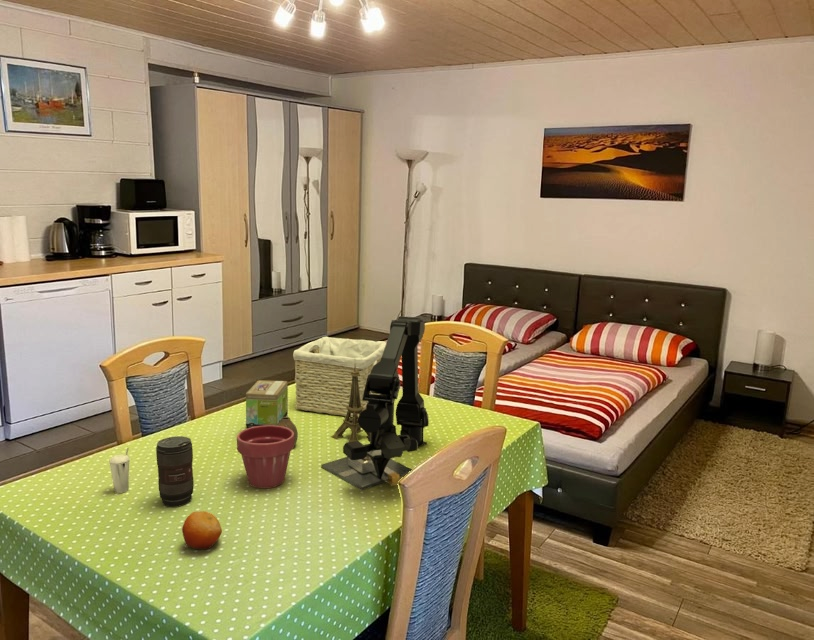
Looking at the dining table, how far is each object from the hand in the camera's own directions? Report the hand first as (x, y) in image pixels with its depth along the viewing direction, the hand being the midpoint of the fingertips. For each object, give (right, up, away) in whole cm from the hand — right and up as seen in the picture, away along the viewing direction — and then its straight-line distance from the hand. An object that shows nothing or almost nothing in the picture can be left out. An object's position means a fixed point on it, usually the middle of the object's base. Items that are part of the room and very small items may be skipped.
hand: (379, 478), depth 166 cm
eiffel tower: (-9, +4, +33) cm, 34 cm away
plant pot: (-29, -1, +2) cm, 29 cm away
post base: (-4, 0, +9) cm, 10 cm away
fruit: (-36, -7, -29) cm, 47 cm away
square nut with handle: (-1, 0, +5) cm, 5 cm away
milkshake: (-64, -2, -5) cm, 64 cm away
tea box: (-36, +5, +36) cm, 52 cm away
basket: (-16, +10, +64) cm, 66 cm away
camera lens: (-48, -3, -10) cm, 49 cm away
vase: (-28, +3, +25) cm, 38 cm away
